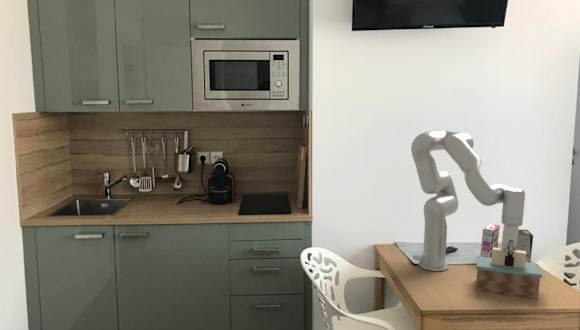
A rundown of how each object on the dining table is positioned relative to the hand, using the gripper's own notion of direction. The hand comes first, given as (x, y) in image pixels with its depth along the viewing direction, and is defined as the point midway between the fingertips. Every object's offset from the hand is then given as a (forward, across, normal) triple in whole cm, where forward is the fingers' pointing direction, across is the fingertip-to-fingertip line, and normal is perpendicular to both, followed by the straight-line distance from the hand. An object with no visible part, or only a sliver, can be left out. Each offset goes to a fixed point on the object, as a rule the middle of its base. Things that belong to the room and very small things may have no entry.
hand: (508, 261), depth 198 cm
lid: (+4, 0, 0) cm, 4 cm away
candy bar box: (+12, -30, -6) cm, 33 cm away
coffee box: (+12, -28, +7) cm, 32 cm away
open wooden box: (+12, 0, 0) cm, 12 cm away
